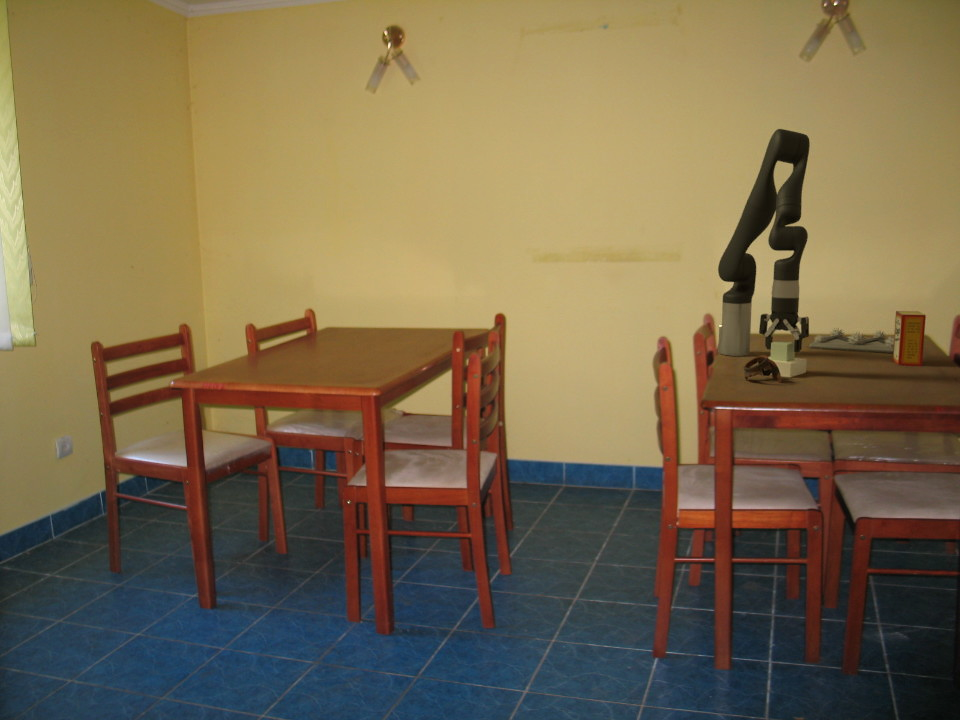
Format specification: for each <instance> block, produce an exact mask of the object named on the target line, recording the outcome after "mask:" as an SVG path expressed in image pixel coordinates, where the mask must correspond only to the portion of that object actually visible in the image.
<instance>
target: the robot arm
mask: <svg viewBox="0 0 960 720" xmlns="http://www.w3.org/2000/svg"><path fill="white" fill-rule="evenodd" d="M810 144H811V143H810V138H809V136H808V135H807V134H805V133H801V132H798V131H793V130H789V129H784V128H778V129H776V130H775V131H774V132H773V134H772V135H771V136H770V139H769V141H768V145H767V146H766V150H765V153H764V156H763V159H762V162H761V165H760V169H759V171H758V174H757V177H756V179H755V182H754V184H753V186H752V189H751V191H750V193H749V195H748V198H747V201H746V203H745V205H744V208H743V210H742V213H741V216H740V217H739V218H740V219H739V220H738V223H737V225H736V228H735V230H734V232H733V234H732V236H731V238H730V241H729V243H728V244H727V246H726V248H725V250H724V252H723V254H722V256H721V257H720V259H719V262H718V266H717V267H718V268H717V271H718V277H719V278H720V279H721V280H722V281H723V282H726V283H733V284H732V287H731V288H730V289H729V290H727V291H726V292H724V293H723V295H722V307H721V308H722V309H721V312H722V313H721V324H720V325H718V348H717V350H718V351H717V353H718V354H722V355H724V356H733V357H735V356H736V357H743V356H748V355H749V356H750V353H751V329H752V328H751V327H752V326H751V325H752V303H753V302H752V301H753V298H754V297H753V296H754V295H755V291H756V289H755V288H756V279H757V262H756V259H755V258H754V256H753V255H752V254H751V253H749V252H747V251H748V250H749V248H750V246H751V245H752V244H753V243H754V241H755V240H756V239H758V238H759V236H760V235H762V234H763V233H764V232H765V231H766V229H767V228H768V227H769V225H770V224H771V222H772V220H773V219H774V222H773V225H772V227H771V230H770V232H769V235H768V238H767V239H768V241H767V242H768V246H769V247H770V248H771V250H773V251H777V252H779V251H780V252H781V251H783V252H784V251H785V252H786V251H787V252H788V251H789V252H790V251H791V252H792V251H793V254H792V255H791V256H789V257H786V258H780V259H777V260H775V261H774V263H773V264H774V265H773V278H772V279H773V280H772V281H773V282H772V286H771V302H770V304H771V305H770V306H771V308H770V310H771V314H768V313H762V314H761V315H760V319H759V320H760V321H759V331H758V333H759V334H760V335H763V336H764V338H765V339H764V340H765V341H764V343H765V345H764V346H765V348H766V350H770V351H771V343H772V342H774V339H773V335H774V334H775V332H777V331H782V330H783V331H785V332H788V331H789V332H790V334H791V335H793V337H794V341H793V342H794V352H795V354H796V353H799V352H800V351H801V350H802V345H803V339H806V338H809V336H810V318H809V317H808V316H804V317H801V316H799V309H800V308H799V306H800V269H801V268H800V267H801V261H802V257H803V253H804V251H805V248H806V245H807V242H808V238H809V235H808V231H807V229H806V228H805V227H804V226H801V225H793V224H796V223H798V222H799V221H800V220H801V218H802V205H803V204H802V203H803V202H802V196H803V194H802V193H803V192H802V191H803V187H804V181H805V175H806V173H807V172H806V171H807V165H808V159H809V153H810V148H811V147H810ZM778 162H782V163H787V164H791V165H792V172H791V173H790V175H789V177H788V178H787V179H786V180H785V181H784V183H783V184H782V185H781V186H780V188H779V190H778V192H777V188H776V183H775V168H776V165H777V163H778ZM774 217H775V218H774ZM769 321H771V324H770V326H769V327H768V324H769ZM798 323H799V325H800V328H799V326H798V325H797V324H798Z"/></svg>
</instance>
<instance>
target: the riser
mask: <svg viewBox="0 0 960 720" xmlns="http://www.w3.org/2000/svg"><path fill="white" fill-rule="evenodd" d="M767 357H768V358H769V359H770V358H771V356H767ZM772 361H774V362H775V363H776V365H777V366H778V368H779V372H780V374H781V377H783V378H792V377H796V376H799V375H802V374H805V373H807V358H800V357H795V359H794V360H790V361H778V360H772ZM762 374H763V373H762ZM770 376H772V373H771V375H770Z"/></svg>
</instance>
